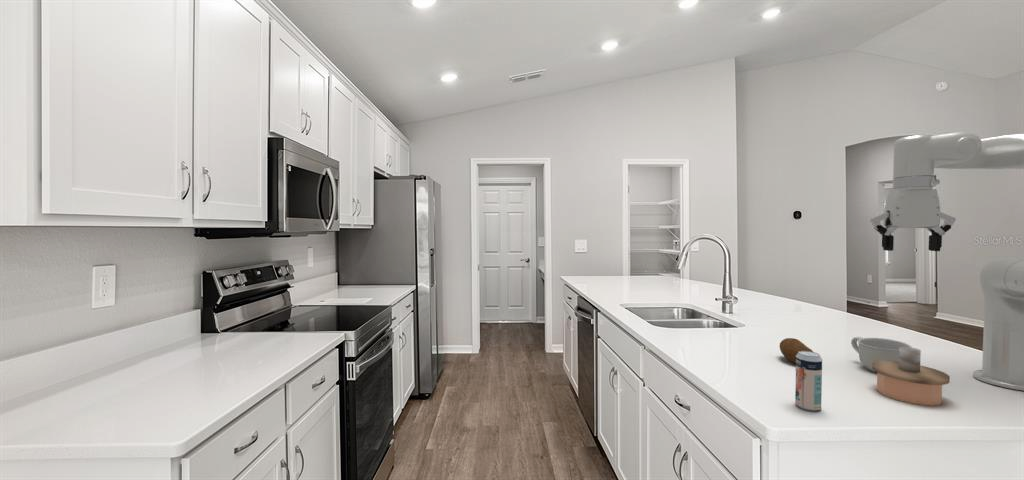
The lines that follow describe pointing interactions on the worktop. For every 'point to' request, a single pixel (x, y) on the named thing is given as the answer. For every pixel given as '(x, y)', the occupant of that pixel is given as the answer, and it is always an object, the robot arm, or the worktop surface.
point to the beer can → (808, 380)
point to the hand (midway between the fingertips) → (910, 250)
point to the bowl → (909, 391)
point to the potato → (792, 348)
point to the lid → (910, 369)
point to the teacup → (877, 350)
